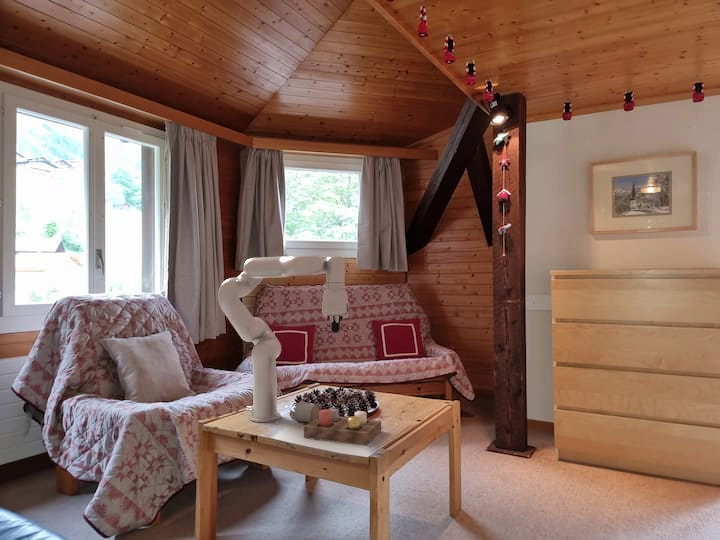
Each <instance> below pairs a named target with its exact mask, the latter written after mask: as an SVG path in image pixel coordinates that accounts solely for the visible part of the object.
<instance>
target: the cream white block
mask: <svg viewBox="0 0 720 540" xmlns="http://www.w3.org/2000/svg"><path fill="white" fill-rule="evenodd" d="M367 413H368V412H366V411H362V410H361V411H360V410H359V411H355V412H354V416H357V417H360V425H366V424H367V417H368V416H367Z"/></svg>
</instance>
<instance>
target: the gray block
mask: <svg viewBox="0 0 720 540" xmlns="http://www.w3.org/2000/svg"><path fill="white" fill-rule="evenodd" d="M328 410H331V411H332V422H338V421H339V417H340V409H339V408H328Z"/></svg>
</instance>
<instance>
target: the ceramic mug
mask: <svg viewBox="0 0 720 540" xmlns="http://www.w3.org/2000/svg"><path fill="white" fill-rule="evenodd" d="M320 410H321V409H320V407H319V406H318V405H317V404H315V403H309V402H305V401H299V402H297V403H296V404H295V408H294V410H293V411H294V413H293V414H294V415H293V416H294V420H295V421H296V422H302V423H306V424H309V423H310V422H312V421H313V420H315V419H317V417H318V416H319V411H320Z"/></svg>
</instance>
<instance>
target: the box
mask: <svg viewBox="0 0 720 540" xmlns="http://www.w3.org/2000/svg"><path fill="white" fill-rule="evenodd" d="M348 417H349V416H348ZM348 417H347V416H339V421H338V422H332V426H330V427H320V426H319V417H318V418H317V419H315V420H313V421H312V422H310V423H306V425H304V426H303V438H304V439H310V438H314V439H313V440H319V439H321V441H329V442H336V443H345V444H354V445H360V446H361V445H363V446H369V444H370V443H371V442H372V441H373V440H374V439H375V438H376V437H377V436H378V435H379V434H380V433H381V432H382V420H377V419H367V424H366V425H360V430H359V431H354V430H348Z"/></svg>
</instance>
